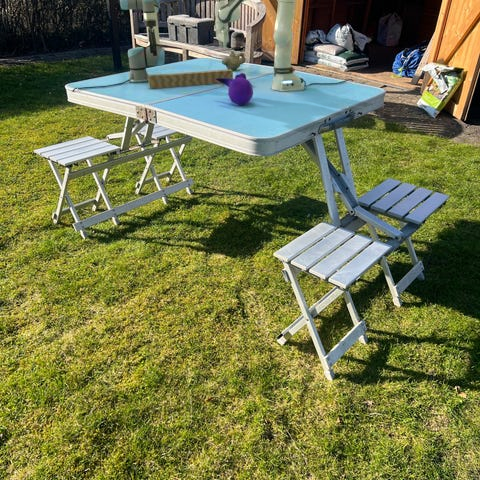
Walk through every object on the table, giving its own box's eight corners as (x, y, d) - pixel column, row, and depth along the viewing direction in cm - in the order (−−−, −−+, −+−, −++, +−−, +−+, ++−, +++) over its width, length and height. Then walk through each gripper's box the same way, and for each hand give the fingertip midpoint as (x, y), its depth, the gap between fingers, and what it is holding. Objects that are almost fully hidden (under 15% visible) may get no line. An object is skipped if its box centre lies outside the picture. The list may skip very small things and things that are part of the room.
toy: (238, 95, 290) (253, 110, 269) (212, 91, 282) (225, 106, 262) (244, 71, 282) (260, 84, 261) (218, 65, 274) (232, 78, 254)
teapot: (225, 72, 363) (224, 52, 355) (218, 70, 371) (218, 50, 364) (248, 69, 372) (247, 50, 364) (241, 67, 381) (240, 48, 373)
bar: (150, 89, 314) (148, 76, 310) (149, 87, 319) (147, 75, 314) (233, 82, 329) (232, 70, 325) (230, 81, 333) (230, 69, 329)
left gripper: (158, 21, 286) (162, 56, 297) (153, 18, 307) (156, 51, 318) (146, 21, 284) (150, 57, 295) (142, 18, 305) (146, 52, 316)
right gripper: (230, 27, 303) (231, 49, 310) (222, 25, 320) (223, 46, 327) (221, 28, 302) (222, 50, 309) (213, 25, 319) (215, 46, 326)
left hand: (153, 54), depth 307 cm, fingers open, 13 cm apart
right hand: (222, 48), depth 318 cm, fingers open, 8 cm apart
